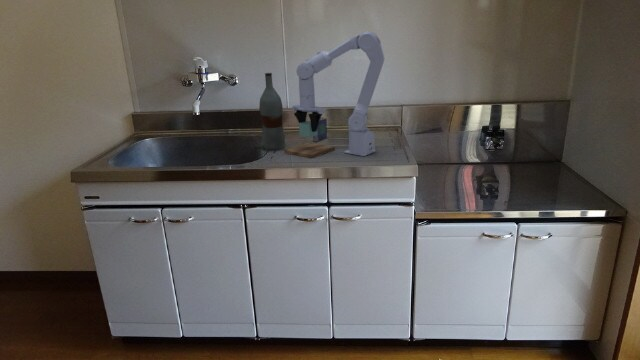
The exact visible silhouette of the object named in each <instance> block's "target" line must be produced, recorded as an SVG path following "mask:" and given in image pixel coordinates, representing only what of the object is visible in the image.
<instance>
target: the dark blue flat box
mask: <svg viewBox="0 0 640 360" xmlns="http://www.w3.org/2000/svg"><path fill="white" fill-rule="evenodd" d="M327 121H328V119H327V117H325V116H321V118H320V120H319V123H318V127H317V131H318V135H315V136H312V143H317V142H321V141H324V140H325V138H326V139H328V129H327V127H328V126H327V125H328V124H327V123H328V122H327Z"/></svg>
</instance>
